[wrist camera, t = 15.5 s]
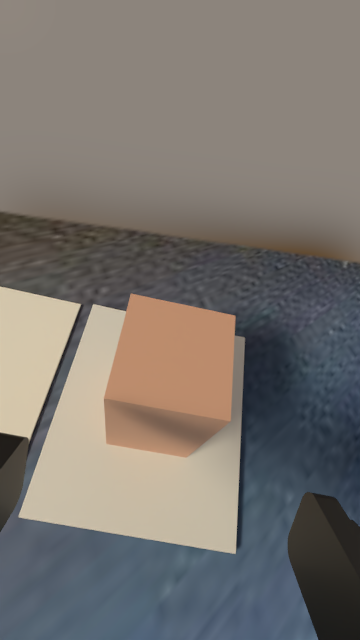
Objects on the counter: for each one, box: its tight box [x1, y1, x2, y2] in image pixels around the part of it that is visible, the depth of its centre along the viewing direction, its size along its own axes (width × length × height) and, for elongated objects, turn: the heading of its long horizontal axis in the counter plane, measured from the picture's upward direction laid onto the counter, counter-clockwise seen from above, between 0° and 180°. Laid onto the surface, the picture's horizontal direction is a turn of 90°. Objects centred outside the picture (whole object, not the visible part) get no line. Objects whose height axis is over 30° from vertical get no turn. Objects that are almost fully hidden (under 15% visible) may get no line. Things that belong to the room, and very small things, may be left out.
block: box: [104, 294, 235, 458], centre depth 18 cm, size 5×5×9 cm
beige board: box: [19, 304, 245, 554], centre depth 22 cm, size 12×14×1 cm
